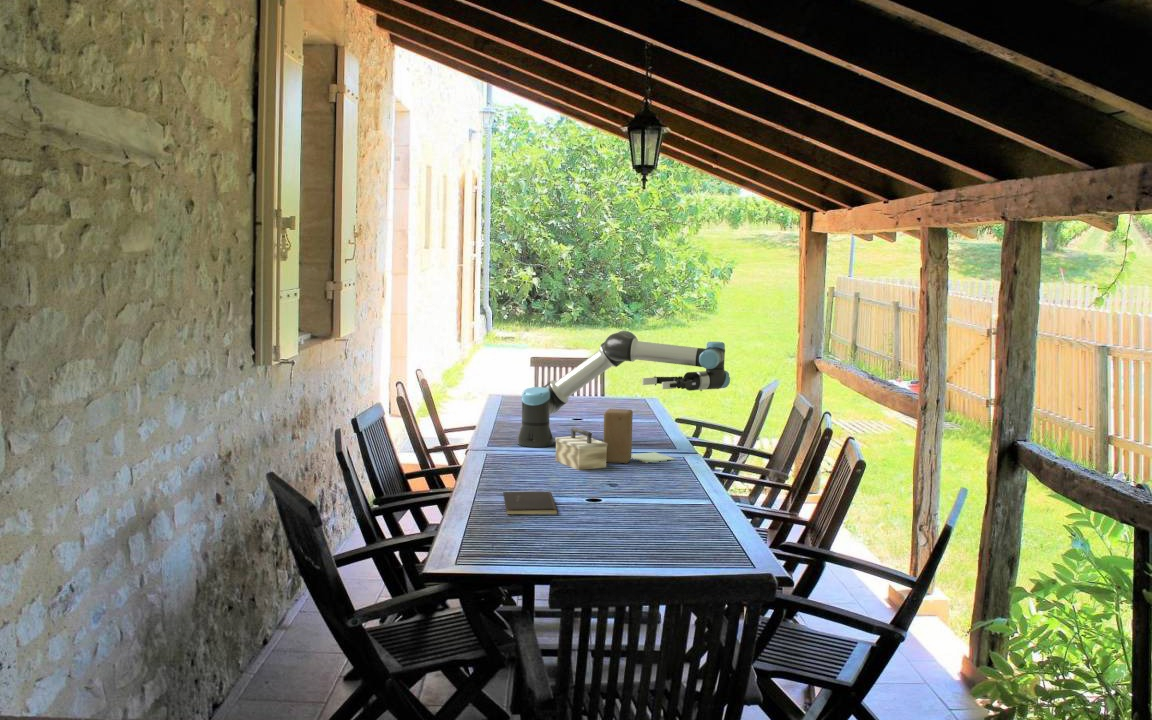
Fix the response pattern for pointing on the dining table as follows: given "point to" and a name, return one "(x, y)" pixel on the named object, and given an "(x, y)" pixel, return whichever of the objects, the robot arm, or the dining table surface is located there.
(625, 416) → the wooden block
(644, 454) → the mat
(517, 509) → the hardcover book
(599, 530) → the dining table surface
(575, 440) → the toolbox
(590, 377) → the robot arm
